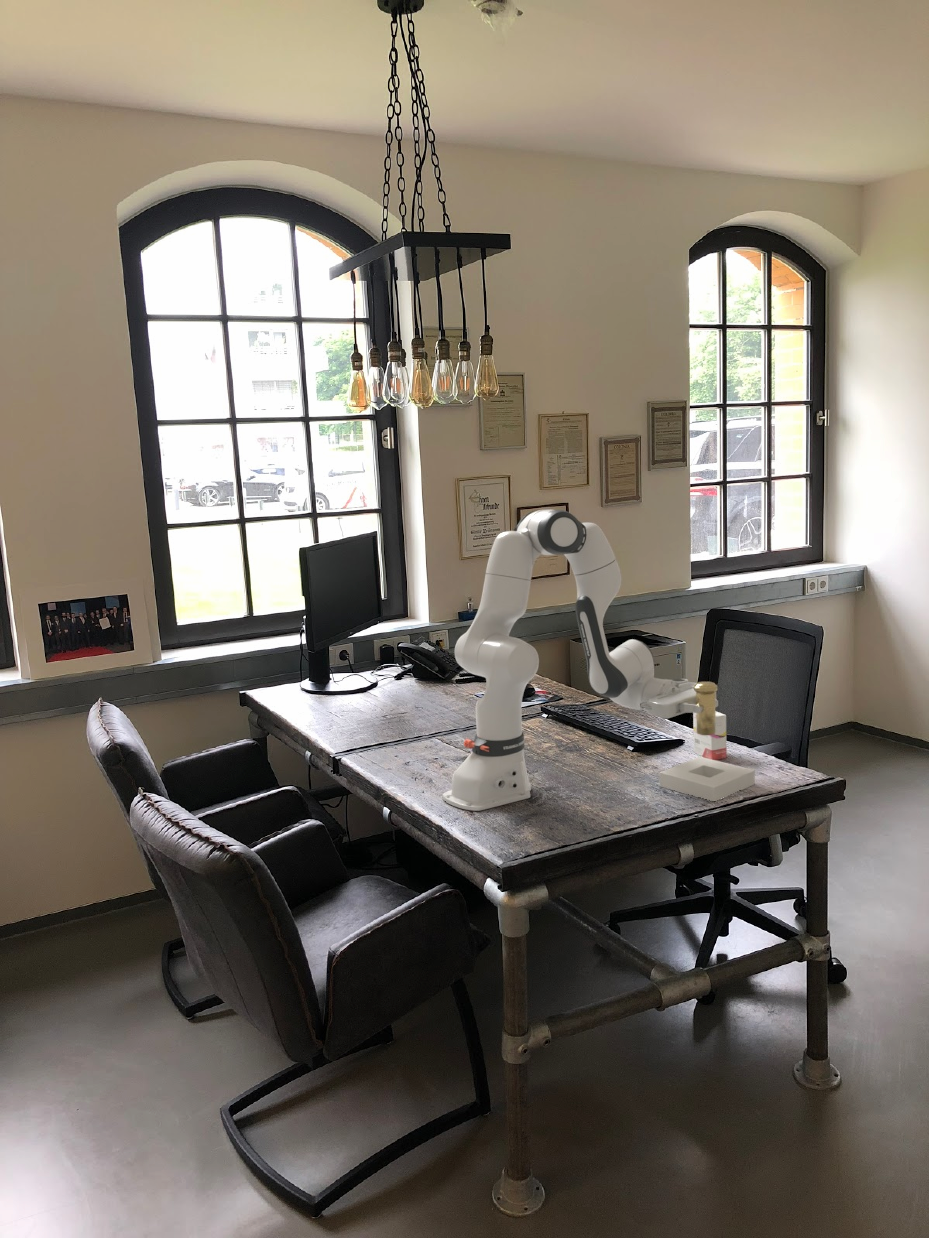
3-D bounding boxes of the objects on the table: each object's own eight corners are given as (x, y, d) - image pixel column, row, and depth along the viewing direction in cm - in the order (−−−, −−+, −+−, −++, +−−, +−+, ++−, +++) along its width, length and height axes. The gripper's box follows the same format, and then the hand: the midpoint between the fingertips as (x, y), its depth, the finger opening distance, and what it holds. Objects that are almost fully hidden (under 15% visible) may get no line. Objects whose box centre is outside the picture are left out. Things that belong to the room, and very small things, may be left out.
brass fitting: (708, 737, 231) (708, 687, 229) (689, 732, 235) (689, 684, 233) (722, 732, 234) (722, 683, 232) (703, 727, 238) (703, 679, 236)
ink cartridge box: (727, 758, 256) (727, 703, 253) (711, 761, 254) (711, 706, 251) (708, 749, 264) (707, 696, 261) (692, 752, 262) (691, 699, 259)
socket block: (714, 802, 226) (714, 787, 225) (659, 786, 238) (659, 772, 237) (754, 784, 236) (754, 770, 235) (700, 769, 248) (699, 756, 247)
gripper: (634, 693, 236) (681, 702, 226) (687, 677, 249) (734, 685, 239) (635, 718, 237) (681, 729, 227) (688, 701, 250) (734, 710, 240)
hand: (709, 706), depth 233 cm, fingers closed on brass fitting, 4 cm apart
